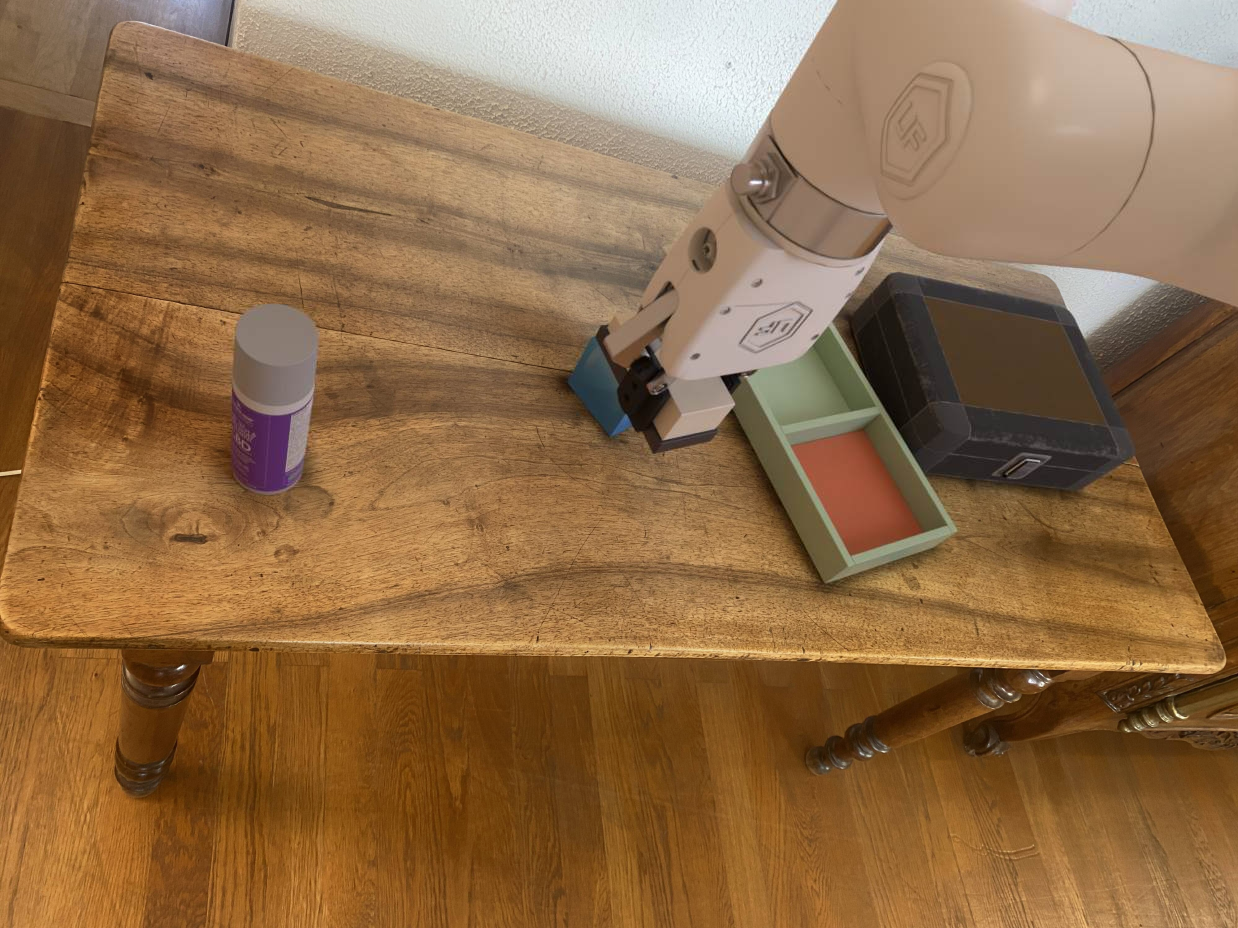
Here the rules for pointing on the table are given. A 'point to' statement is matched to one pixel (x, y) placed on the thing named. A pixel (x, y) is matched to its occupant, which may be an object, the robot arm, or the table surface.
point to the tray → (838, 461)
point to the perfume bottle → (599, 389)
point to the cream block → (678, 403)
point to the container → (272, 396)
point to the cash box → (989, 384)
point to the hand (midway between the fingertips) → (665, 403)
